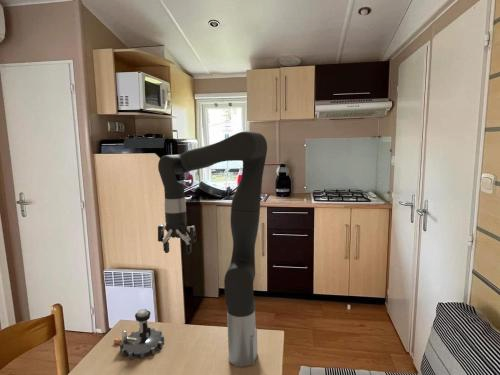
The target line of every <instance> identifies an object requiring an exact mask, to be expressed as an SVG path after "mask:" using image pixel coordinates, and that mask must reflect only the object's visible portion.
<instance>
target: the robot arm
mask: <svg viewBox="0 0 500 375" xmlns="http://www.w3.org/2000/svg"><path fill="white" fill-rule="evenodd" d="M267 151H268V143H267V139H266V136H264V135H263V134H262V133H260V132H256V131H251V130H241V131H239V132H237V133H235V134H231V136H228V137H227V138H225V139H222V140H220V141H218V142H213V143H212V144H208V145H204V146H200V147H197V148H192V149H188V150H186V151H184V152H183V153H180V154H167V155H163V156H161V157H160V159H159V160H158V164H157V168H158V173H159V177H160V179H161V182H162V185H163V188H164V190H163V191H164V192H163V193H164V216H165V217H164V221H165V225H164V224H160V225H158V226H157V241H158V242H160V243H162V244H163V245H162V247H163V252H164V253H165V254H168V253H170V242H169V241H170V239H171V238H173V239H176V238H177V239H182V241H184V242H185V250H186V251H185V252H186V255H190V254H191V253H192V251H193V247H192V244H194V243H196V242H197V232H196V226H195V225H191V226H190V225H189V226H188V224H187V222H188V221H187V219H188V218H187V204H186V203H187V202H186V196H185V193H186V192H185V184H184V183H183V182H182V181H180V180H178V179H177V177H176V175H181V174H185V173H188V172H190V171H197V170H201V169H206V168H209V167H210V166H211V167H212V166H213V165H215V164H218V163H221V162H222V163H223V162H232V161H239V162H242V171H241V177H240V180H239V183H238V184H237V187H236V189H235V193H234V194H233V197H232V200H231V205H230V206H231V208H230V231H231V236H232V253H231V259H230V264H229V267H228V268H227V270H226V273H225V275H224V278H223V279H224V282H223V285H224V286H223V287H224V300H225V306H226V314H227V315H226V316H227V319H226V320H227V321H226V322H227V343H228V344H227V345H228V346H227V349H228V352H227V353H228V361H229V362H230V364H232V365H233V366H236V367H239V368H244V367H248V366H255V364H256V360H257V357H258V329H257V327H256V302H255V300H254V298H255V297H254V281H255V279H256V260H255V259H256V258H255V257H256V256H255V255H256V254H255V253H256V252H255V251H256V250H255V249H256V240H257V237H258V230H259V225H260V213H261V212H260V211H261V198H262V189H263V188H262V186H263V176H264V169H265V164H266V159H267V153H268V152H267ZM165 231H166V235H165ZM188 233H189V234H188Z"/></svg>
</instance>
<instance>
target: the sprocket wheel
mask: <svg viewBox="0 0 500 375" xmlns="http://www.w3.org/2000/svg"><path fill="white" fill-rule="evenodd" d="M150 329H151V334H150V335H149V337H148V338H146V339H145V340H144V341H140V343H137V342H138V341H139V338H138V334H139V333H140V332H139V330H137V331H132V332H130V335H128V332H127V330H126V329H123V330H122V331H121V336H122V337H121V338H122V343H120V344H119V350H120V351H121V356H122V357H125V356H128V359H129V360H133V359H134V358H140V359H145V356H149V355H152V356H154V355H155V354H156V352H157V350H158V349H162V348H163V347H164V346H163V343H165V335H164V334H163V333H162V330H160V329H159V330H156V329H155V328H154V327H150ZM162 334H163V335H162Z"/></svg>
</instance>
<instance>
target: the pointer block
mask: <svg viewBox="0 0 500 375" xmlns="http://www.w3.org/2000/svg"><path fill="white" fill-rule="evenodd" d="M114 343H115V344H116V345H119V346H120V343H123V340H122V337H115V338H114V339H113V344H114Z"/></svg>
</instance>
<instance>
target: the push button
mask: <svg viewBox="0 0 500 375" xmlns="http://www.w3.org/2000/svg"><path fill="white" fill-rule="evenodd" d="M151 314H152V313H151V311H150V310H148V309H146V308H143V309H139V310H138V311H137V312H136V313H135V315H134V318H135V320H136V322H138V323H139V324H138V325H139V329H138V331H139V332H140V333H139V334H138V338H139V341H138V342H137V343H140V341H144V340H145V339H146V338H148V337H149V335H150V334H151V327H149V325H148V320H150V318H151Z"/></svg>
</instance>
